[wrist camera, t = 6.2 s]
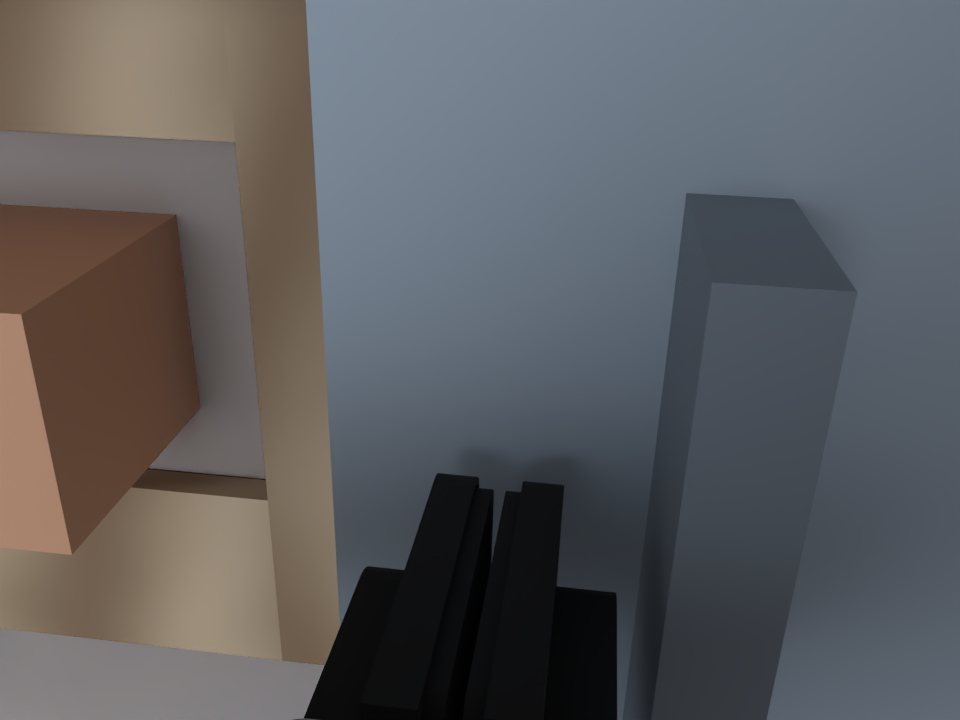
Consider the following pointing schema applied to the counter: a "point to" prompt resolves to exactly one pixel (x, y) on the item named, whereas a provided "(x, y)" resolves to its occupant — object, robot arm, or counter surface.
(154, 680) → the counter surface
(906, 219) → the lid
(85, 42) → the board
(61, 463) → the block
